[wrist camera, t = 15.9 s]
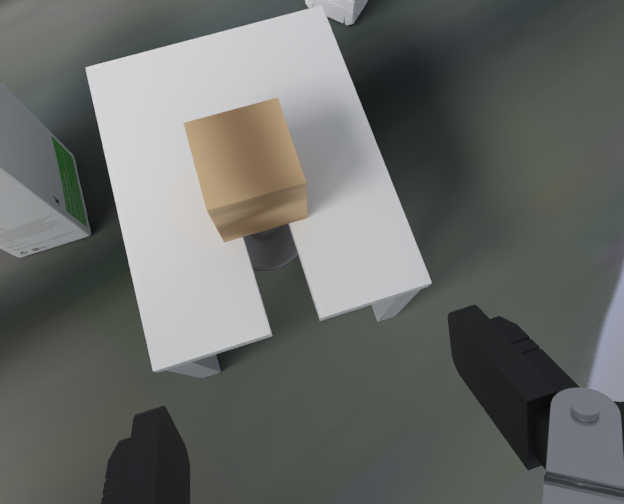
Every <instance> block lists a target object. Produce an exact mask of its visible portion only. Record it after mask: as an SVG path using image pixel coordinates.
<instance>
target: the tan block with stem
mask: <svg viewBox="0 0 624 504" xmlns="http://www.w3.org/2000/svg"><path fill="white" fill-rule="evenodd" d="M184 127H185V131H186V135H187V138H188V142H189V146H190V150H191V153H192V157H193V161H194V164H195V168H196V172H197V176H198V179H199V183H200V187H201V191H202V194H203V198H204V202H205V206H206V209H207V212H208V214H209V215H210V217H211V219H212V221H213V223H214V225H215V226H216V228H217V230H218V232H219V234H220V235H221V237H222V239H223V241H224V242H227V241H231V240H234V239H238V238H241V237H244V240H245V244H246V247H247V250H248V254H249V257H250V261H251V264H252V267H253V269H254V270H260V271H268V270H274V269H278V268H281V267H283V266H285V265H287V264H288V263H290V262H291V261H292V260H293V259H294V258H296V256H297V255H298V252H297V249H296V246H295V243H294V240H293V237H292V233H291V230H290V227H289V223H293V222H296V221H299V220H303V219H306V218H307V191H306V180H305V177H304V174H303V171H302V168H301V165H300V162H299V159H298V156H297V153H296V150H295V147H294V144H293V141H292V138H291V135H290V132H289V129H288V126H287V123H286V120H285V117H284V114H283V111H282V108H281V105H280V102H279V99H278V98H274V99H270V100H267V101H263V102H259V103H256V104H252V105H248V106H244V107H241V108H237V109H233V110H230V111H226V112H222V113H218V114H215V115H211V116H207V117H204V118H200V119H196V120H192V121H189V122H185V123H184Z"/></svg>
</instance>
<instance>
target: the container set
mask: <svg viewBox="0 0 624 504" xmlns="http://www.w3.org/2000/svg"><path fill="white" fill-rule="evenodd" d="M367 2H368V0H305V4H306V5H307V6H308V7H309V9H310V8H314V7H317V6H321V5H322V7H323V9H324V12H325V14H326V16H327V17H329V18H332V19H334V20H336V21H338V22H341V23H344V22H345V25H351V24H354V23H355V21H356V19H357V18H358V16H359V15H360V13H361V11H362V10H363V8H364V7H365V5H366V3H367Z"/></svg>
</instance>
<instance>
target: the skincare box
mask: <svg viewBox="0 0 624 504" xmlns="http://www.w3.org/2000/svg"><path fill="white" fill-rule="evenodd" d="M90 235H91V230H90V225H89V222H88V217H87V211H86V206H85V202H84V198H83V193H82V189H81V185H80V180H79V176H78V171H77V166H76V161H75V157H74V155H73V154H72V153H71V152H70V151H69V150H68V149H67V148H66V147H65V146H64V145H63V144H62V143H61V142H60V141H59V140H58V139H57V138H56V137H55V136H54V135H53V134H52V133H51V132H50V131H49V130H48V129H47V128H46V127H45V126H44V125H43V124H42V123H41V122H40V121H39V120H38V119H37V118H36V117H35V116H34V115H33V114H32V113H31V112H30V111H29V110H28V109H27V107H26V106H25V105H24V104H23V103H22V102H21V101H20V100H19V99H18V98H17V97H16V96H15V95H14V94H13V93H12V92H11V91H10V90H9V89H8V88H7V87H6V86H5V85H4V84H3V83H2V82H1V81H0V248H1V249H3V250H5V251H6V252H8V253H10V254H12V255H14V256H17V257H19V258H21V257H24V256H27V255H31V254H34V253H37V252H40V251H44V250H47V249H50V248H53V247H56V246H60V245H63V244H66V243H69V242H72V241H75V240H78V239H82V238H85V237H88V236H90Z"/></svg>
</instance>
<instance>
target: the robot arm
mask: <svg viewBox="0 0 624 504" xmlns="http://www.w3.org/2000/svg"><path fill="white" fill-rule="evenodd" d="M448 325H449V333H450V342H451V351H452V357H453V361H454V364H455V367H456V369H457V371H458V373H459V375H460V376H461V378H462V379H463V380H464V382H465V383H466V385H467V386H468V387H469V389H470V390H471V392H472V393H473V394H474V396H475V397H476V399H477V400H478V401H479V403H480V404H481V405H482V407H483V408H484V410H485V411H486V412H487V414H488V415H489V417H490V418H491V419H492V421H493V422H494V424H495V425H496V426H497V428H498V429H499V431H500V432H501V433H502V435H503V436H504V437H505V439H506V440H507V442H508V443H509V444H510V446H511V447H512V449H513V450H514V451H515V453H516V454H517V456H518V457H519V458H520V460H521V461H522V463H523V464H524V465H525V467H526V468H527V470H530V469H533V468H536V467H539V466H541V465H542V466H543V467H544V468H545V470H546V475H545V477H544V489H543V503H542V504H624V402H614V401H612V400H611V399H610V398H609V397H607V396H606V395H604V394H602V393H600V392H598V391H595V390H592V389H587V388H580V387H579V386H578V385H577V384H576V383H575V382H574V381H573V380H572V379H571V378H570V377H569V376H568V375H567V374H566V373H565V372H564V371H563V370H562V369H561V368H560V367H559V366H558V365H557V364H556V363H555V362H554V361H553V360H552V359H551V358H550V357H549V356H548V355H547V354H546V353H545V352H544V351H543V350H542V349H541V350H540V348H539V346H538V345H537V344H536V343H535V342H534V341H533V340H532V339H531V340H530V338H529V336H528V335H527V334H526V333H525V332H524V331H523V330H522V329H521V328H520V327H519V326H518V325H517V324H515V323H513V322H510V321H508V320H506V319H504V318H502V317H500V316H498V317H495V318H492V319H489V318H488V317H487V316H486V315H485V314H484V313H483V312H482V310H481V309H480V308H479V307H478V306H476V305H472V306H468V307H465V308H462V309H459V310H456V311H453V312H450V313H449V314H448ZM105 479H106V482H105V484H104V490H103V496H104V497H103V498H102V502H101V504H190V464H189V457H188V453H187V449H186V447H185V444H184V442H183V440H182V438H181V436H180V434H179V432H178V430H177V428H176V426H175V424H174V422H173V420H172V418H171V416H170V414H169V413H168V411H167V409H166V408H165V407H164V406H161V407H157V408H154V409H151V410H148V411H145V412H142V413H139V414H136V415H135V416H134V418H133V425H132V433H131V437H130V438H127V439H124V440H121V441H119V442H118V444H117V446H116V448H115V449H114V451H113V453H112V455H111V456H110V458H109V460H108V466H107V472H106V478H105Z"/></svg>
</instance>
